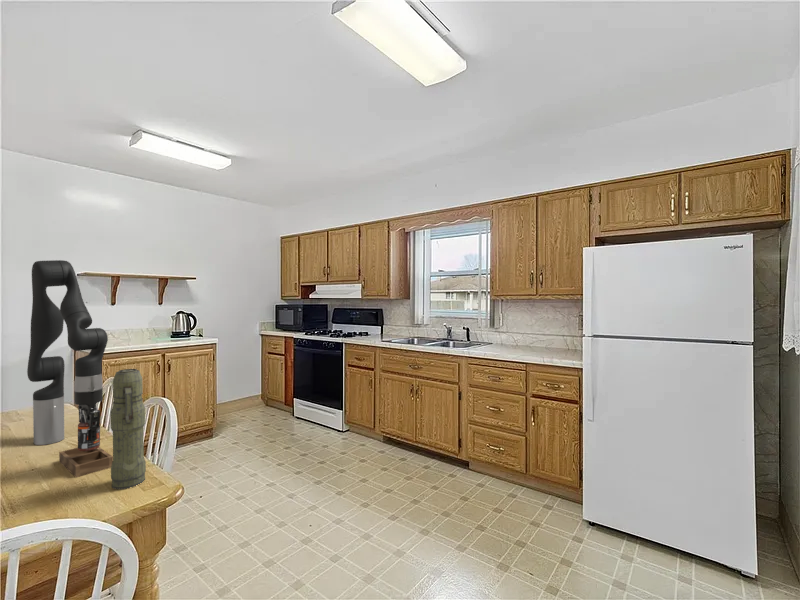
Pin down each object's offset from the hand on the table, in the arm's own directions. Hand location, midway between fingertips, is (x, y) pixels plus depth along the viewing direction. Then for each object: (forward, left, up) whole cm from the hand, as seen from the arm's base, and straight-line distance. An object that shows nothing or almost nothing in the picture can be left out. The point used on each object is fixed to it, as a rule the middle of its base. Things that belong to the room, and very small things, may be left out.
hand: (89, 438), depth 136 cm
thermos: (+22, +4, -10) cm, 25 cm away
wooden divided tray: (-5, 0, -10) cm, 11 cm away
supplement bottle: (0, 0, -4) cm, 4 cm away
